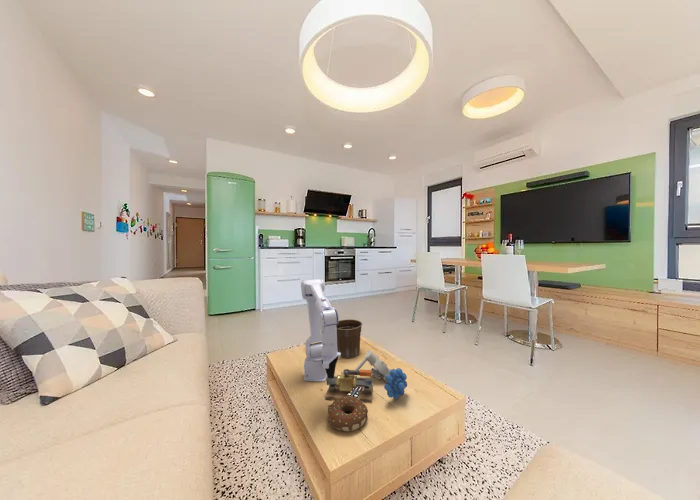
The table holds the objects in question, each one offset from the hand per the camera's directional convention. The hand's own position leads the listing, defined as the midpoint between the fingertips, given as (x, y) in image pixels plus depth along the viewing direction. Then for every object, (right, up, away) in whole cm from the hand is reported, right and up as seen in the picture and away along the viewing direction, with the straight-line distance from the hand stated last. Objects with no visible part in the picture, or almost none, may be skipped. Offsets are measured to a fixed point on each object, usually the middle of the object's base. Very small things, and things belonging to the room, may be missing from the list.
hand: (330, 377), depth 94 cm
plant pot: (+6, -8, +42) cm, 43 cm away
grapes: (+26, -10, +2) cm, 27 cm away
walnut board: (+7, -10, +6) cm, 14 cm away
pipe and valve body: (+7, -9, +6) cm, 13 cm away
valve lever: (+10, -2, +6) cm, 12 cm away
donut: (+6, -11, -8) cm, 15 cm away
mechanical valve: (+15, -9, +15) cm, 23 cm away
